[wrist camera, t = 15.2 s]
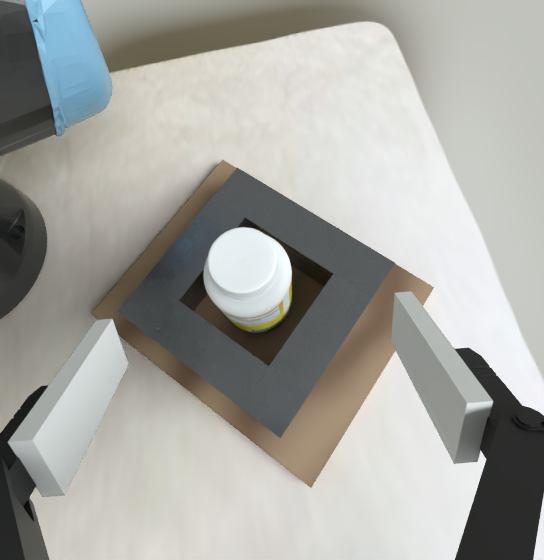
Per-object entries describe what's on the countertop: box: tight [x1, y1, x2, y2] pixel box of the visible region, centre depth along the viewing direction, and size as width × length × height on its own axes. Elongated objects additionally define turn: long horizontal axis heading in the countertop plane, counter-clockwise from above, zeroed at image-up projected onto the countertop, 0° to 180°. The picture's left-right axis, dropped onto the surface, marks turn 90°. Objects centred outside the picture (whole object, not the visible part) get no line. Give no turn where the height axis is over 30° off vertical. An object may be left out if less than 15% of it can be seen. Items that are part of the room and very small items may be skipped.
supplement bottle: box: [203, 227, 292, 334], centre depth 25 cm, size 6×6×10 cm
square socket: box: [117, 168, 395, 438], centre depth 28 cm, size 14×14×4 cm
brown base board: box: [92, 160, 434, 487], centre depth 30 cm, size 22×18×1 cm
